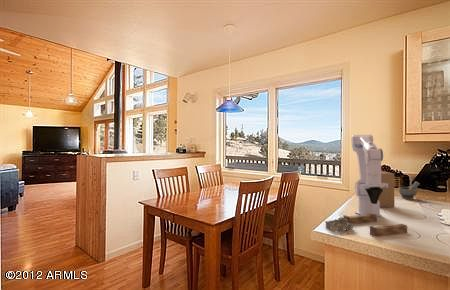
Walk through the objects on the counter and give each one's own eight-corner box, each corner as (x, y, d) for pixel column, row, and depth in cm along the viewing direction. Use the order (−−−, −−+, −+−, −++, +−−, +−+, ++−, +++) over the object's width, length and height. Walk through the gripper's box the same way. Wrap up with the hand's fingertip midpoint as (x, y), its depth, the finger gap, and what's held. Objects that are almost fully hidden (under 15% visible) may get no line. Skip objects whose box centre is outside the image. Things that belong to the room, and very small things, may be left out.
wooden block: (384, 203, 142) (384, 171, 142) (395, 207, 132) (395, 173, 132) (368, 203, 143) (367, 171, 142) (377, 207, 133) (376, 173, 133)
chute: (372, 219, 112) (372, 212, 112) (407, 232, 95) (407, 224, 95) (343, 223, 108) (343, 215, 108) (374, 236, 91) (374, 228, 91)
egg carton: (345, 225, 105) (345, 216, 105) (356, 231, 98) (356, 222, 98) (323, 226, 104) (323, 217, 104) (332, 232, 97) (332, 223, 97)
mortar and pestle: (398, 198, 152) (398, 181, 152) (398, 196, 160) (398, 179, 160) (420, 201, 145) (420, 182, 145) (419, 198, 153) (419, 180, 153)
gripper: (368, 176, 101) (368, 206, 101) (394, 175, 104) (394, 204, 104) (355, 174, 108) (355, 202, 108) (380, 173, 111) (380, 200, 111)
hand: (373, 203), depth 106 cm, fingers closed
